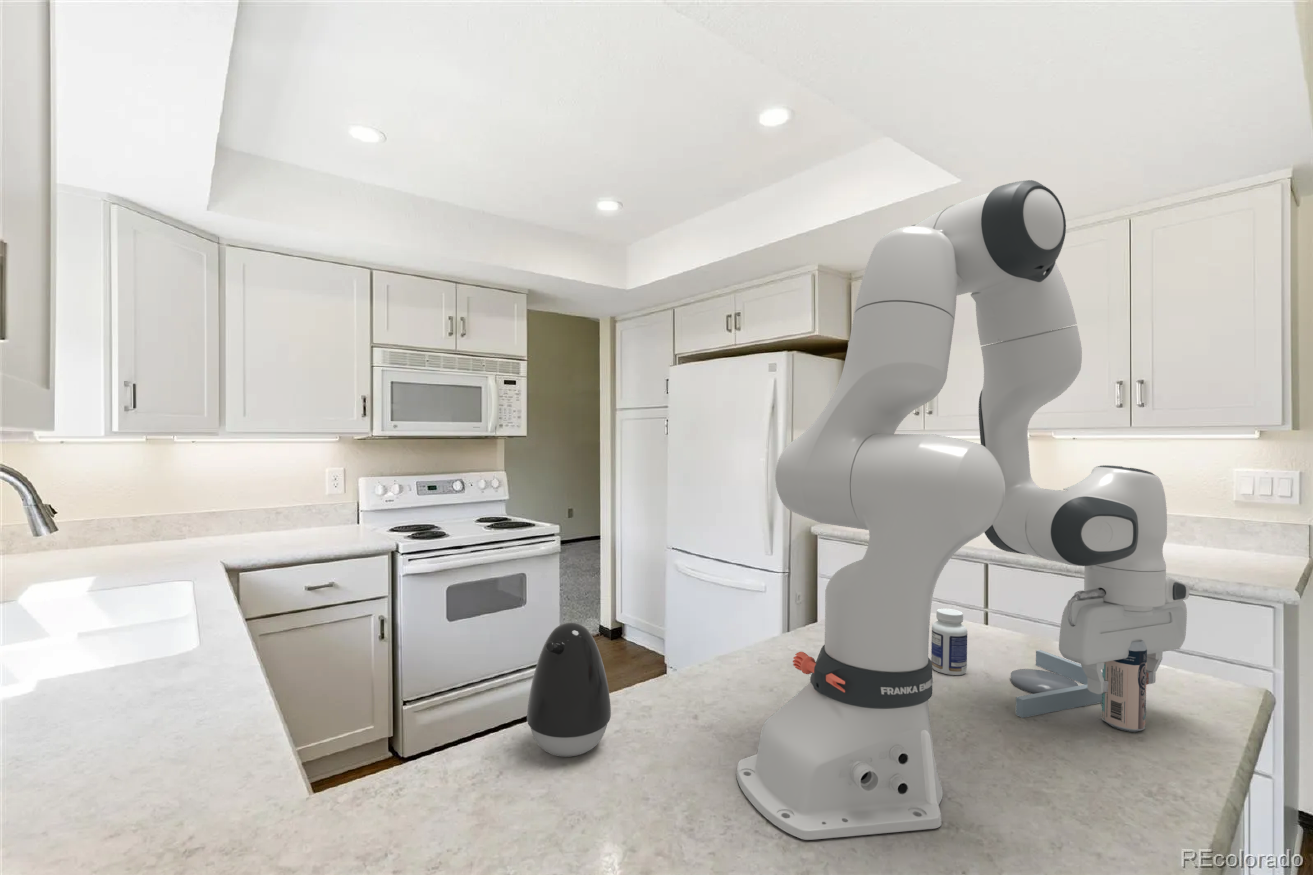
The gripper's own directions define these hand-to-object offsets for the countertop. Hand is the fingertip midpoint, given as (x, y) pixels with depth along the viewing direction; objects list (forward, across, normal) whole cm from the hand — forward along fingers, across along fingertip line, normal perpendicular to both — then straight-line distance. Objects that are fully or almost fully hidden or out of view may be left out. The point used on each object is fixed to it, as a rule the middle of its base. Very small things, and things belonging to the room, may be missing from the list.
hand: (1121, 687), depth 84 cm
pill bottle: (+5, -7, +23) cm, 24 cm away
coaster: (+5, +2, +13) cm, 14 cm away
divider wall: (+5, +1, +13) cm, 14 cm away
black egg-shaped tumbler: (+5, -72, +18) cm, 74 cm away
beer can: (+5, 0, 0) cm, 5 cm away
